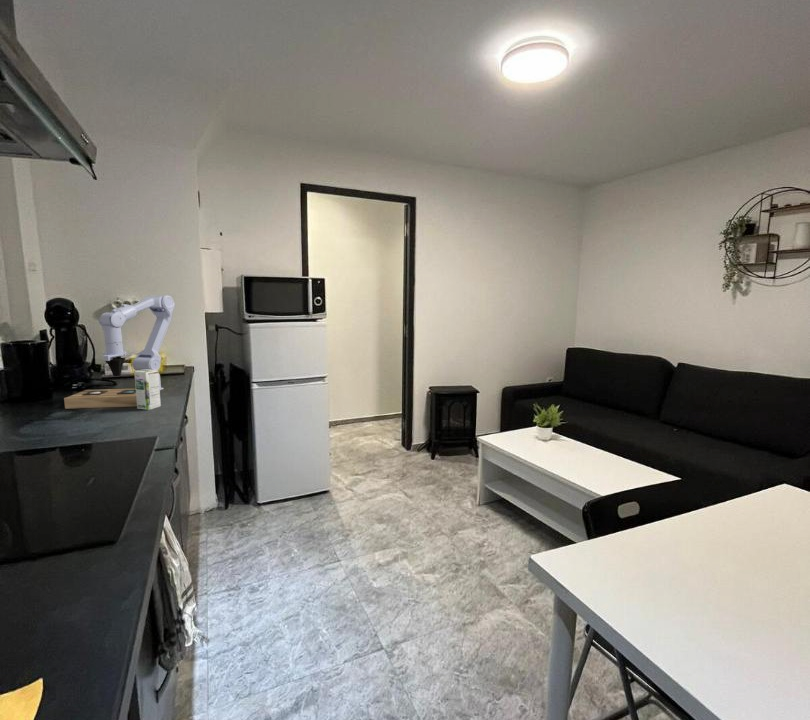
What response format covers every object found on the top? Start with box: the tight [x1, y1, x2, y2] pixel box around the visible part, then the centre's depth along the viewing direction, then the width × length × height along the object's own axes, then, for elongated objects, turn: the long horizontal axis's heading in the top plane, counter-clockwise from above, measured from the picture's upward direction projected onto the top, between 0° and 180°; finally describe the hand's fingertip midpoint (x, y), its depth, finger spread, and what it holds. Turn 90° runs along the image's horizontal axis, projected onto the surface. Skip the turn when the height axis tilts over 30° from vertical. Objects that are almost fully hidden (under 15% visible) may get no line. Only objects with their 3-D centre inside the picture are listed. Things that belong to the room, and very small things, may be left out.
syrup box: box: [133, 369, 162, 411], centre depth 155 cm, size 6×6×14 cm
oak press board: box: [63, 388, 137, 410], centre depth 163 cm, size 14×26×4 cm, turn 100°
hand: (117, 375), depth 166 cm, fingers closed
